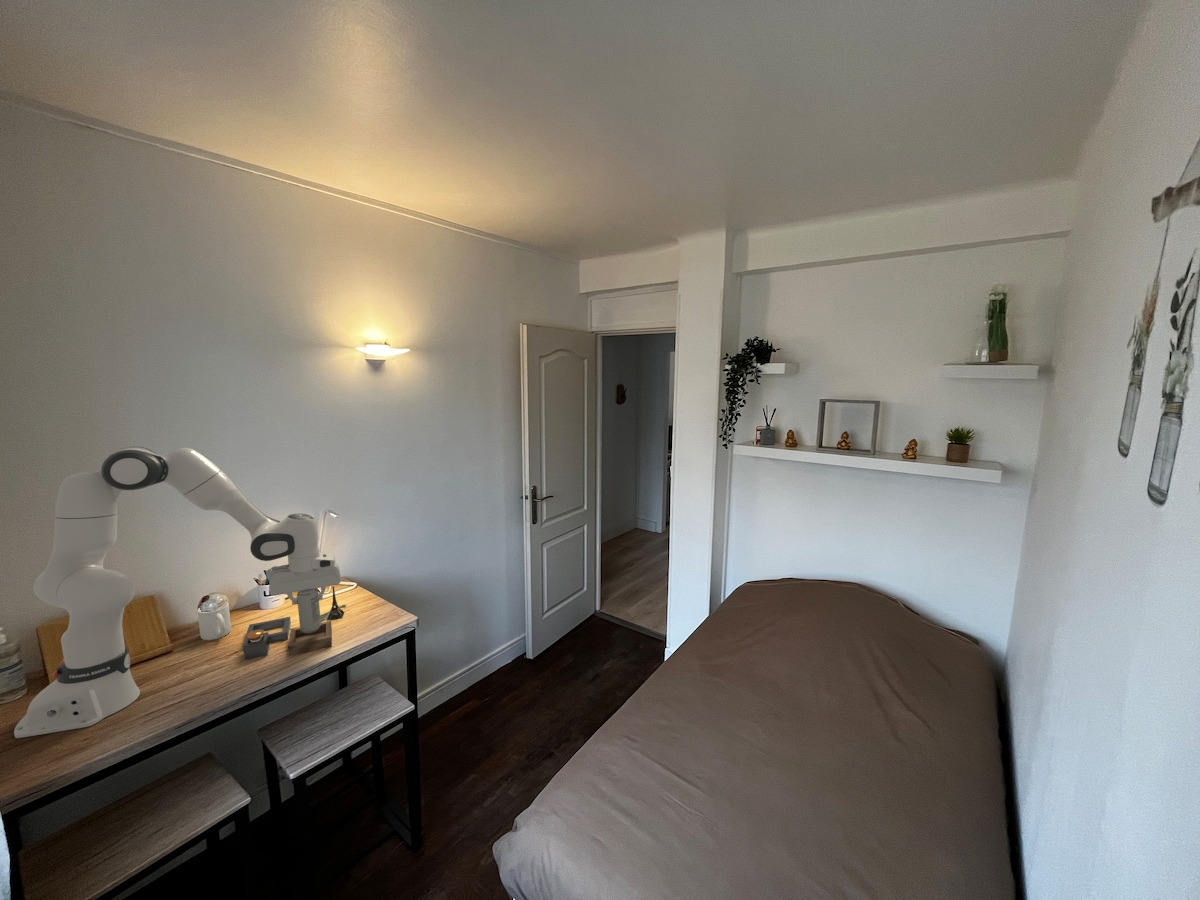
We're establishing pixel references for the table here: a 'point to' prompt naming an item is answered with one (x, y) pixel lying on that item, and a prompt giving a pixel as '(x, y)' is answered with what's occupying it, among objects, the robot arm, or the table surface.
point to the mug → (214, 623)
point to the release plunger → (255, 635)
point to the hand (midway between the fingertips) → (307, 601)
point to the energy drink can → (309, 610)
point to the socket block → (265, 637)
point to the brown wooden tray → (310, 639)
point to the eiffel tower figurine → (333, 611)
